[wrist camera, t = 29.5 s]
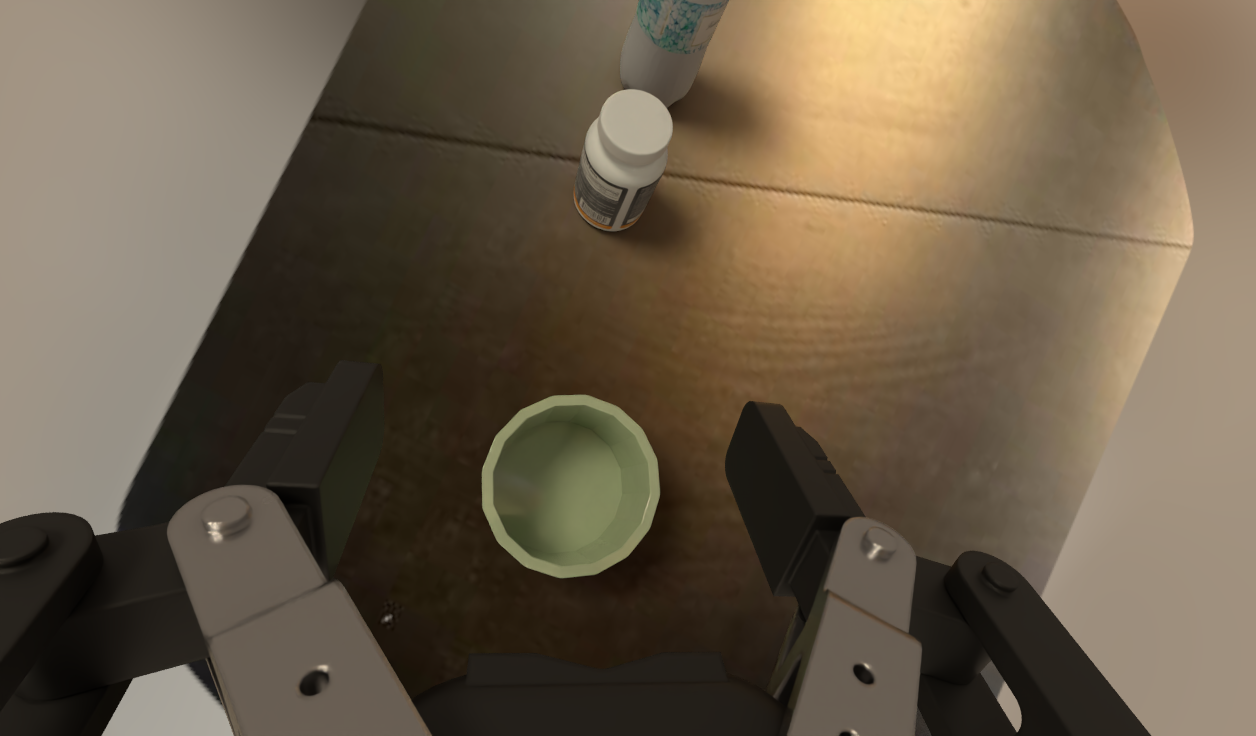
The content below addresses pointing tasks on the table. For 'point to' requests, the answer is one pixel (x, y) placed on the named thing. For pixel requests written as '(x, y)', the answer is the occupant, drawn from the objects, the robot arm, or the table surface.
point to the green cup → (570, 486)
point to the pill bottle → (622, 159)
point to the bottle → (668, 45)
